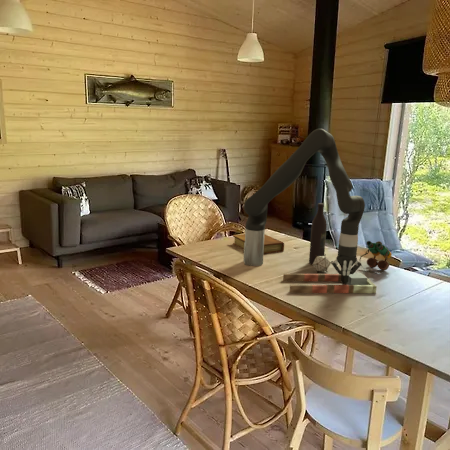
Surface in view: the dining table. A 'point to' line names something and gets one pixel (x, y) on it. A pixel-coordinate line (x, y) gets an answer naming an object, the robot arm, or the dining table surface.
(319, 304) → the dining table surface
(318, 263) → the game die
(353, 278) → the slate block
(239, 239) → the diary
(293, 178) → the robot arm
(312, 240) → the wine bottle
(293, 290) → the tray
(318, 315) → the dining table surface
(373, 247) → the wheeled frog toy
